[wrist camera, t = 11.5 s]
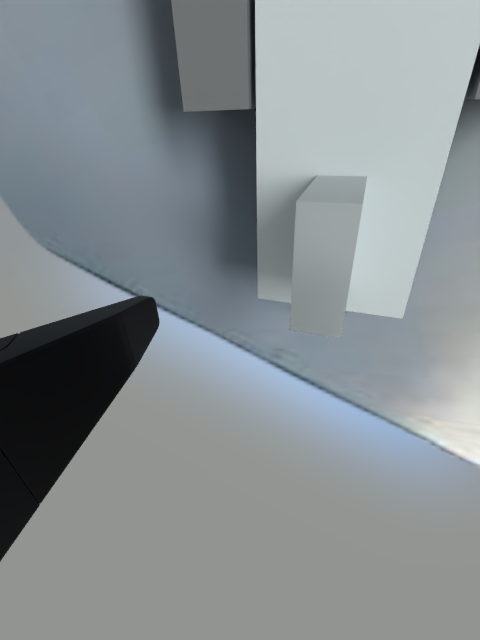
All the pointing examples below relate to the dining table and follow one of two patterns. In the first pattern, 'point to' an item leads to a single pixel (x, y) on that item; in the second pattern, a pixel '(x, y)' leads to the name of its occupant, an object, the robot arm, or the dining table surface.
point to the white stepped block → (353, 147)
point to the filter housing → (228, 55)
